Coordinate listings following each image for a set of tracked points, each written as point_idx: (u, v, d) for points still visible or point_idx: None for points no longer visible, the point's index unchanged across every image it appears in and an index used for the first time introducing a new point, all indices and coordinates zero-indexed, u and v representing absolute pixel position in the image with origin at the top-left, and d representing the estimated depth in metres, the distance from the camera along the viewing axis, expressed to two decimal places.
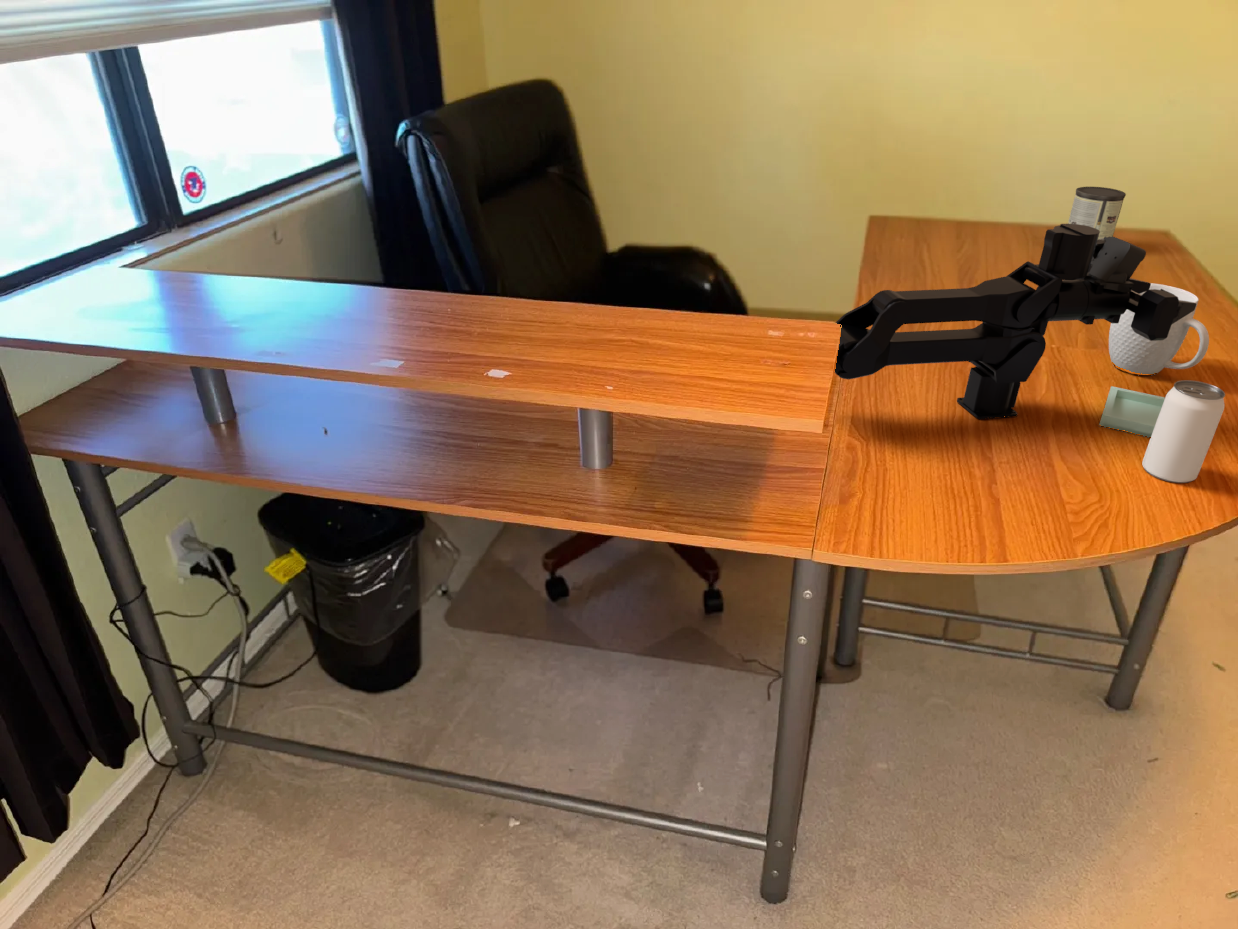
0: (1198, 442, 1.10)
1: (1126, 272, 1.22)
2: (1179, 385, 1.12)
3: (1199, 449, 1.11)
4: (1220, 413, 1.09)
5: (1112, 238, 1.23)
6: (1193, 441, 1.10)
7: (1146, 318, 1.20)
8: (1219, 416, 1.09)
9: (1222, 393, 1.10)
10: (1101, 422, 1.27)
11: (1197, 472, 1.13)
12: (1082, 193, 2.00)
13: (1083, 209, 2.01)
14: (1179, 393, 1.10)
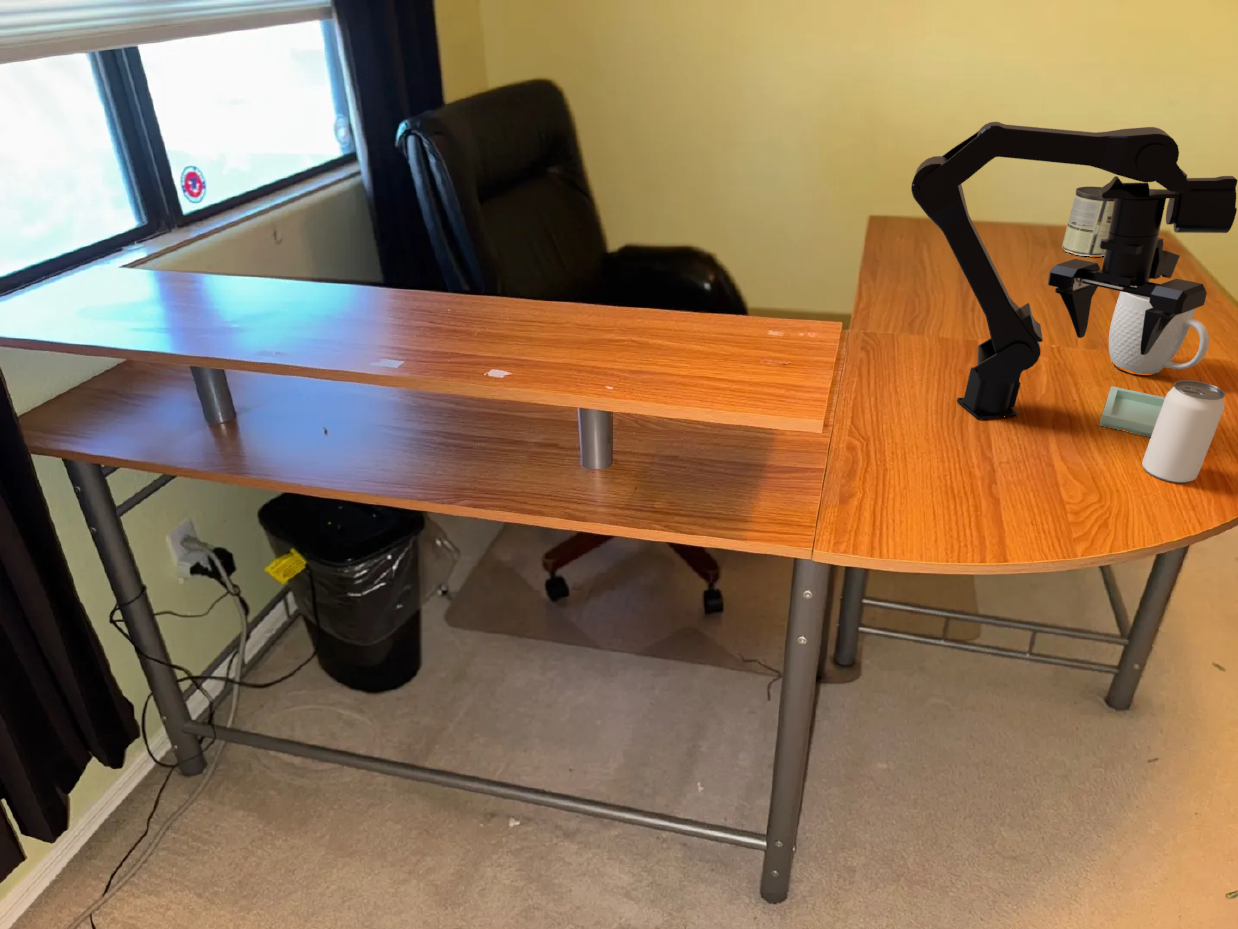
0: (1198, 442, 1.10)
1: None
2: (1179, 385, 1.12)
3: (1199, 449, 1.11)
4: (1220, 413, 1.09)
5: None
6: (1193, 441, 1.10)
7: (1183, 286, 1.11)
8: (1219, 416, 1.09)
9: (1222, 393, 1.10)
10: (1101, 422, 1.27)
11: (1197, 472, 1.13)
12: (1082, 193, 2.00)
13: (1083, 209, 2.01)
14: (1179, 393, 1.10)
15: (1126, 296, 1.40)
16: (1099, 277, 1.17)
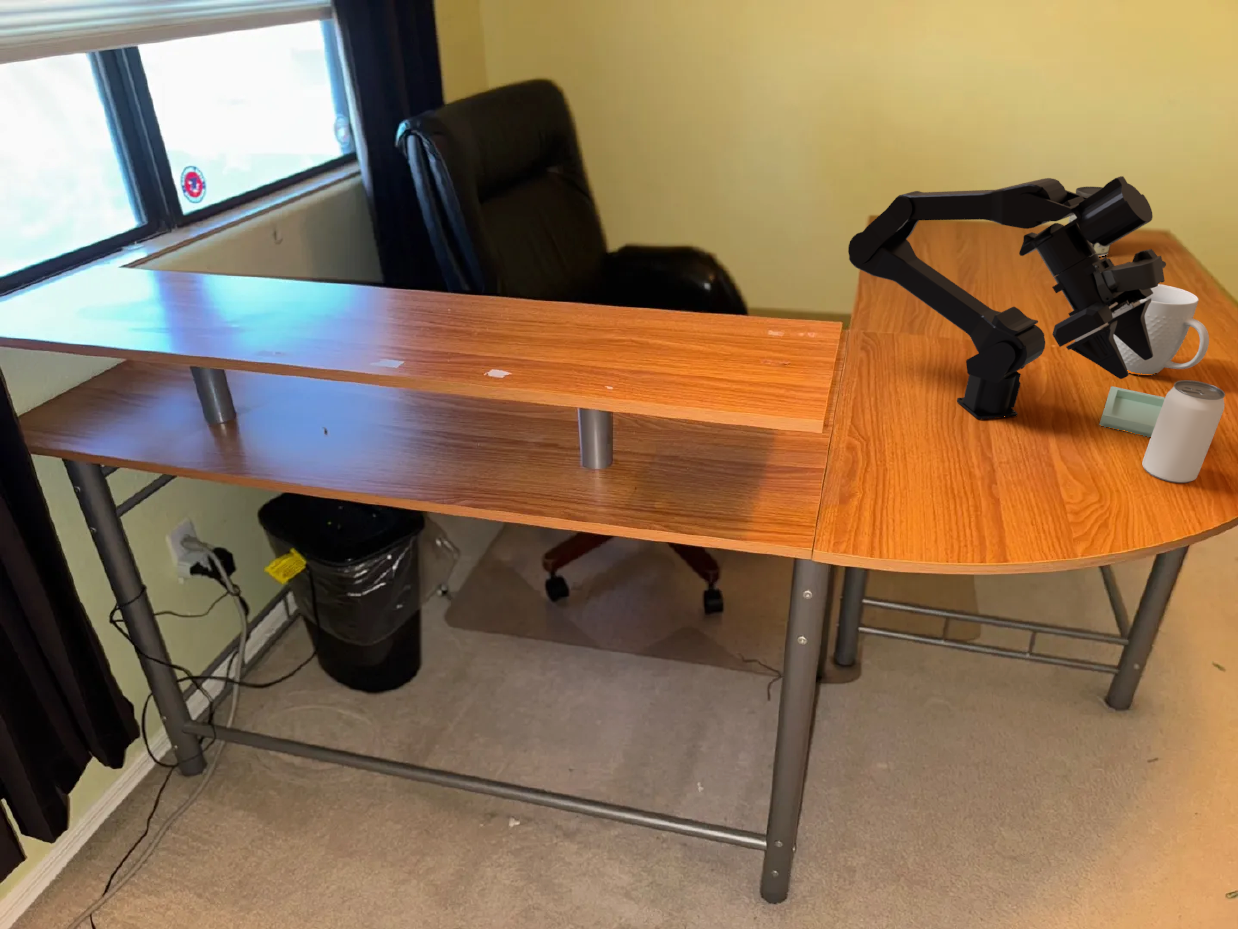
0: (1198, 442, 1.10)
1: (1120, 282, 1.11)
2: (1179, 385, 1.12)
3: (1199, 449, 1.11)
4: (1220, 413, 1.09)
5: (1157, 257, 1.10)
6: (1193, 441, 1.10)
7: None
8: (1219, 416, 1.09)
9: (1222, 393, 1.10)
10: (1101, 422, 1.27)
11: (1197, 472, 1.13)
12: (1082, 193, 2.00)
13: None
14: (1179, 393, 1.10)
15: None
16: None
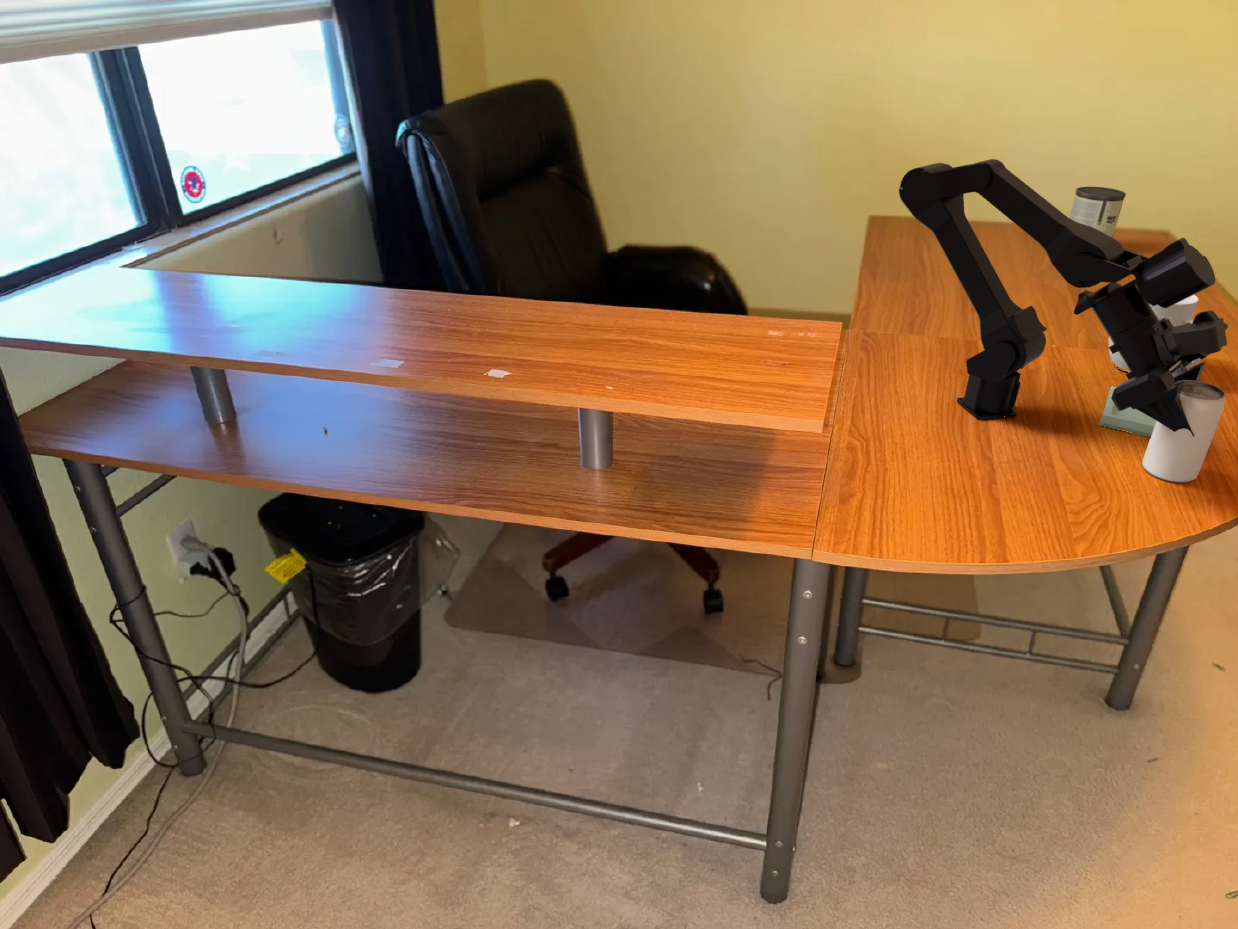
0: (1198, 442, 1.10)
1: (1182, 346, 1.08)
2: None
3: (1198, 449, 1.11)
4: (1220, 413, 1.09)
5: (1220, 320, 1.08)
6: (1192, 442, 1.10)
7: (1132, 379, 1.08)
8: (1219, 416, 1.09)
9: (1222, 393, 1.10)
10: (1101, 422, 1.27)
11: (1197, 472, 1.13)
12: (1082, 193, 2.00)
13: (1083, 209, 2.01)
14: None
15: None
16: None
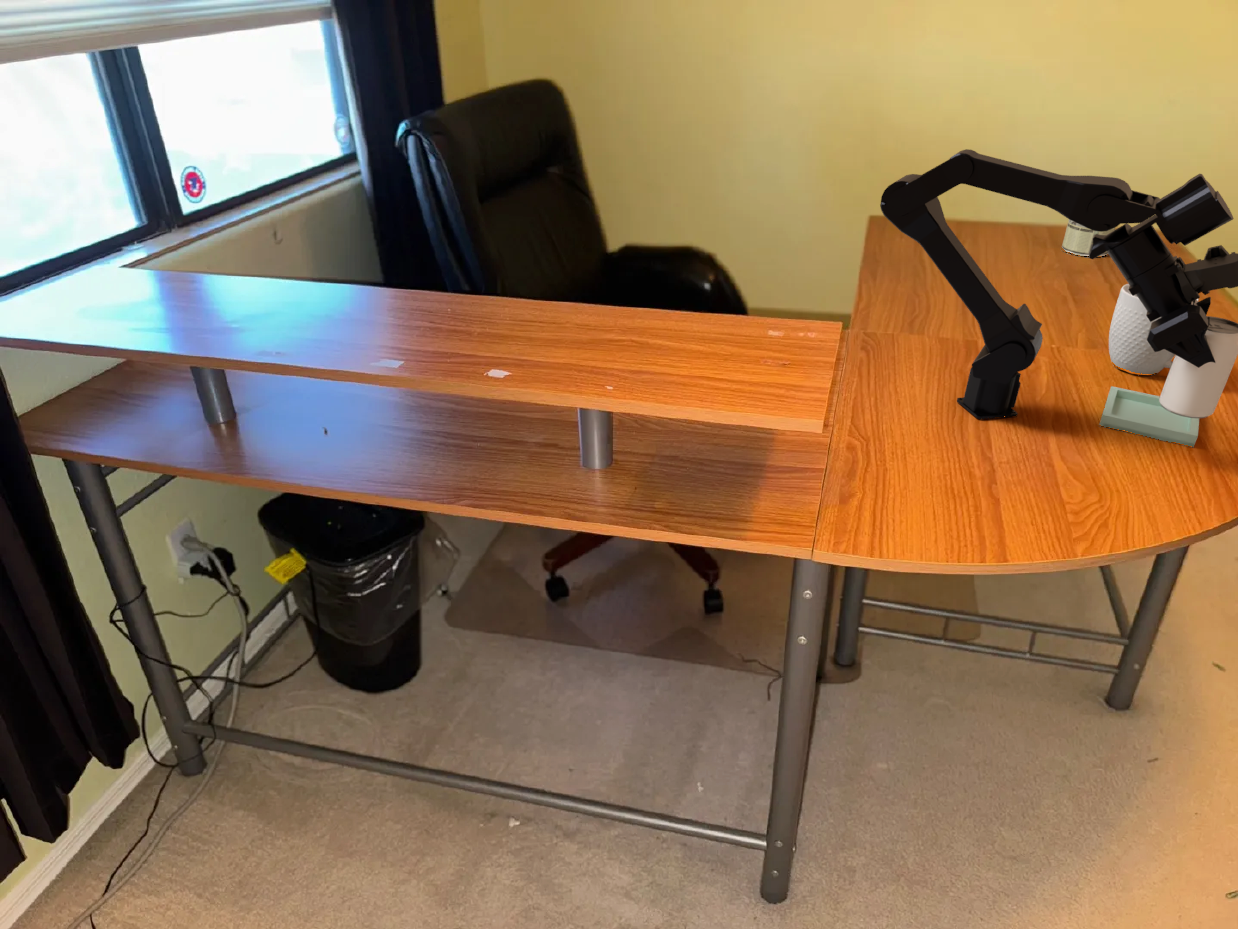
0: (1222, 376, 1.12)
1: (1206, 282, 1.09)
2: None
3: (1221, 383, 1.13)
4: None
5: (1236, 254, 1.09)
6: (1217, 376, 1.12)
7: (1167, 319, 1.08)
8: None
9: None
10: (1101, 422, 1.27)
11: (1216, 405, 1.15)
12: None
13: None
14: None
15: (1126, 296, 1.40)
16: None
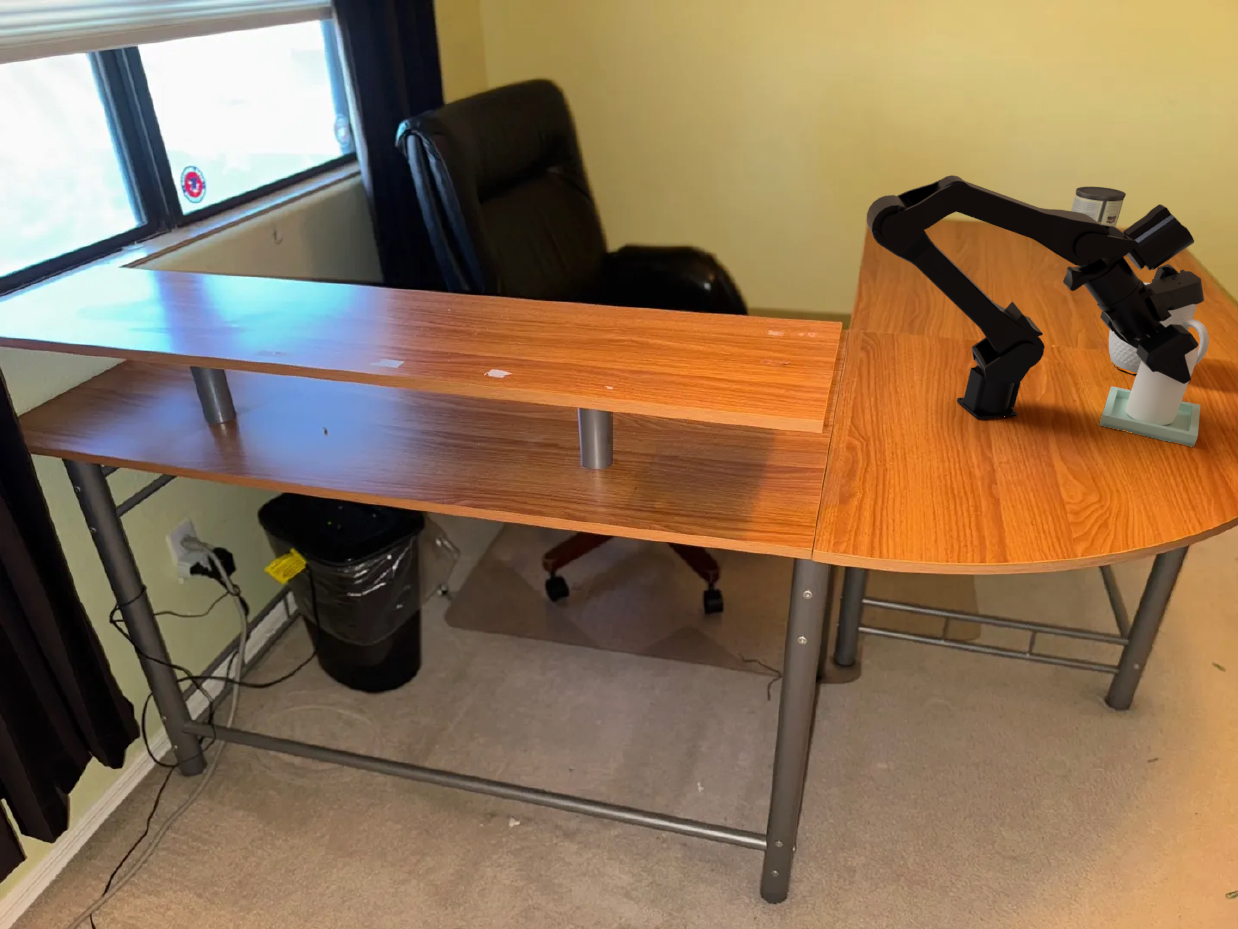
0: (1186, 386, 1.24)
1: (1176, 301, 1.18)
2: None
3: (1184, 392, 1.25)
4: None
5: (1189, 272, 1.20)
6: (1183, 387, 1.24)
7: (1159, 341, 1.16)
8: None
9: None
10: (1101, 422, 1.27)
11: None
12: (1082, 193, 2.00)
13: (1083, 209, 2.01)
14: None
15: None
16: (1116, 329, 1.25)
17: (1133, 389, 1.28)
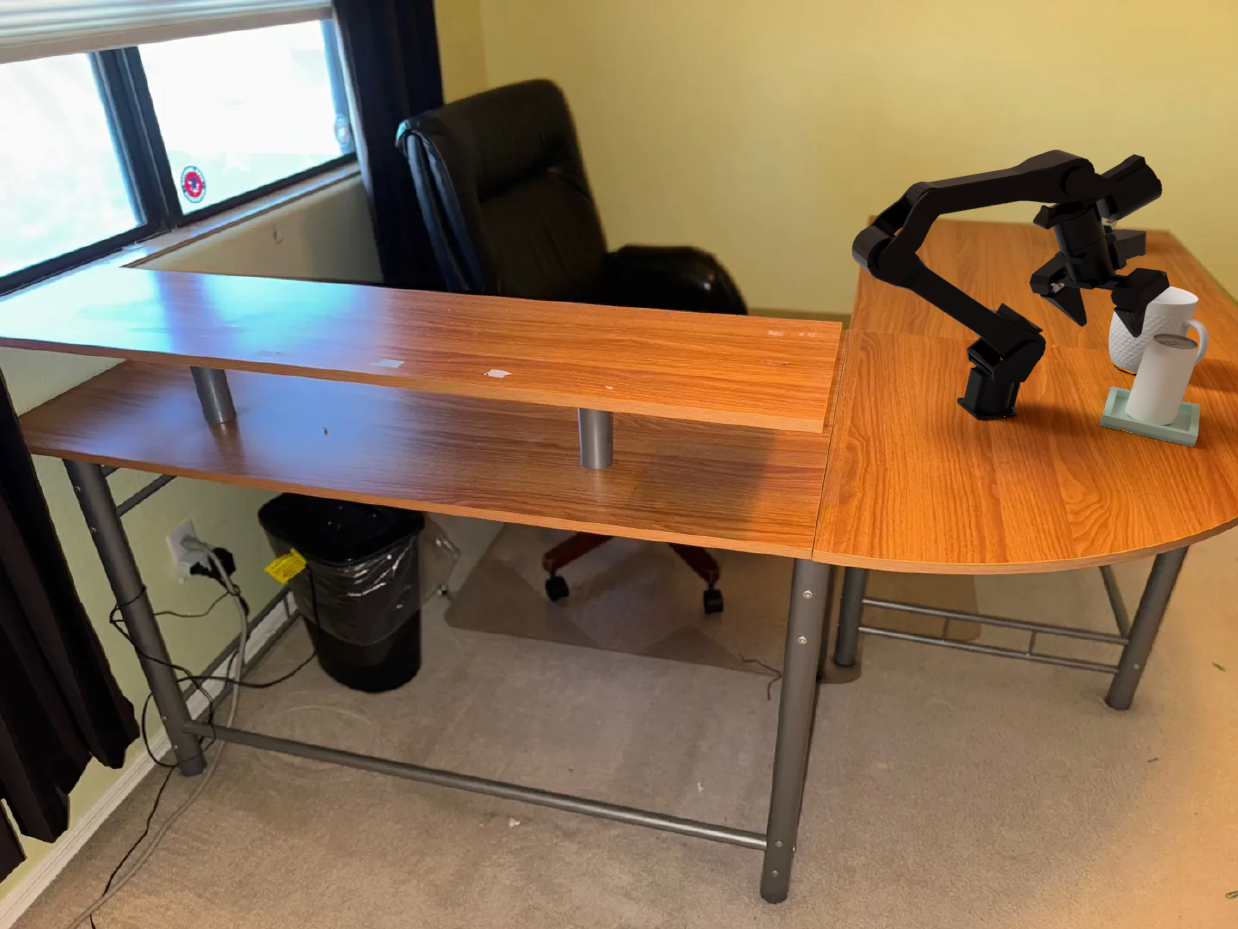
0: (1185, 386, 1.24)
1: (1129, 250, 1.21)
2: (1156, 340, 1.24)
3: (1184, 392, 1.25)
4: None
5: (1124, 229, 1.24)
6: (1183, 387, 1.24)
7: (1139, 279, 1.16)
8: None
9: (1188, 339, 1.24)
10: (1101, 422, 1.27)
11: None
12: None
13: None
14: (1169, 347, 1.22)
15: None
16: (1067, 284, 1.24)
17: (1133, 389, 1.28)
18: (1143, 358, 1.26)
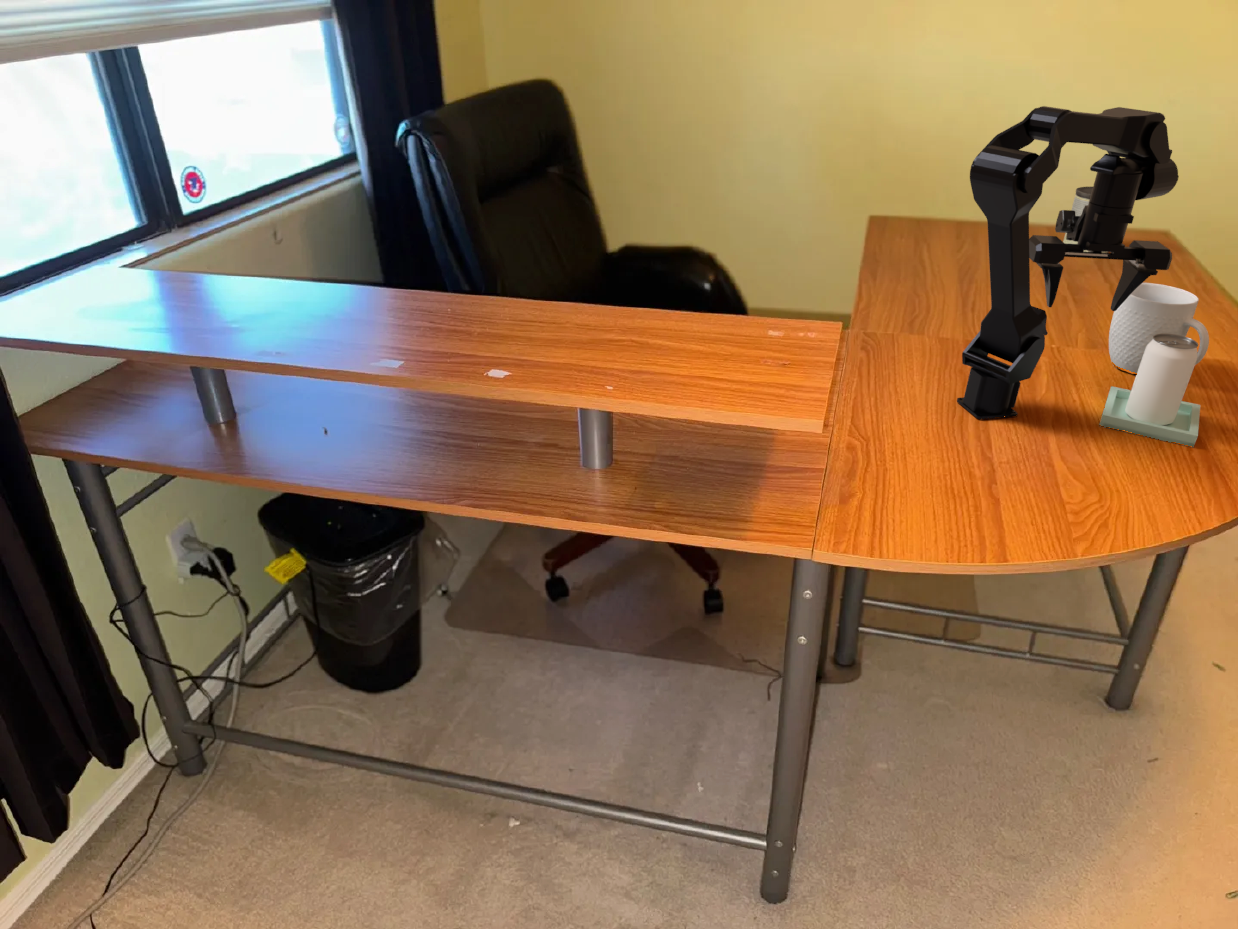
0: (1185, 386, 1.24)
1: None
2: (1156, 341, 1.24)
3: (1184, 392, 1.25)
4: None
5: None
6: (1183, 387, 1.24)
7: (1156, 245, 1.27)
8: None
9: (1188, 339, 1.24)
10: (1101, 422, 1.27)
11: None
12: (1082, 193, 2.00)
13: None
14: (1169, 347, 1.22)
15: None
16: (1093, 248, 1.26)
17: (1133, 389, 1.28)
18: (1143, 358, 1.26)
